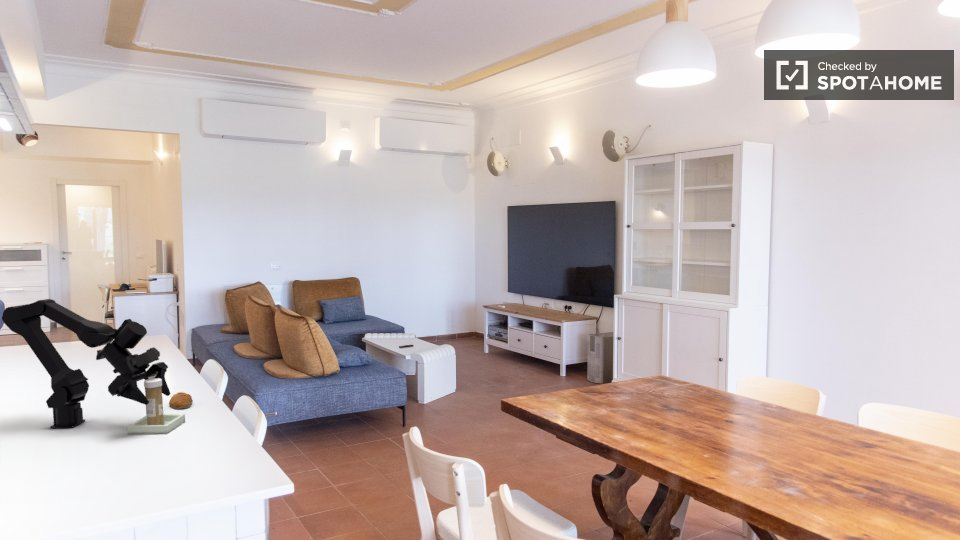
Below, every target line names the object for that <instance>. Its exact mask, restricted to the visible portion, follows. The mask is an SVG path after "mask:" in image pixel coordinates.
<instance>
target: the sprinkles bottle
mask: <svg viewBox="0 0 960 540" xmlns="http://www.w3.org/2000/svg"><path fill="white" fill-rule="evenodd" d="M143 386H144V393H145V394H144V395H145V397H146V398H147V399H148V401H149V403H148V404H147V405H145V416H147V425H164V418H163V415H164V404H163V403H164V401H163V400H164V399H163V393H162V388H161V387H162V379H160V378H153V379H148V380H145V379H144V381H143Z"/></svg>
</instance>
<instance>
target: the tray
mask: <svg viewBox="0 0 960 540" xmlns="http://www.w3.org/2000/svg"><path fill="white" fill-rule="evenodd" d="M163 418H164V425H147V416H146V415H145V416H143V417H141V418H140V419H137V420H135V422H133V423H131V424H129V425H128V426H127V427H126V433H127V435H168V434H169V433H171V432H172V431H174V430H175V429H176V428H178V427H179V426H181V425H183V424H184V423H185V422H186V414H181V413H180V414H179V413H178V414H163ZM182 423H183V424H182Z"/></svg>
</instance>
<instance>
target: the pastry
mask: <svg viewBox="0 0 960 540" xmlns="http://www.w3.org/2000/svg"><path fill="white" fill-rule="evenodd" d="M168 404H169V407H171V408H172V409H174V410H181V409H186V408H190V407H191V406H192V404H193V398H192V395H191V394H190V393H187V392H184V391H181V392H177V393H175V394H173V395H172V396H171V397H170V399H169V402H168ZM190 405H191V406H190Z"/></svg>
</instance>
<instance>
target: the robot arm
mask: <svg viewBox="0 0 960 540" xmlns="http://www.w3.org/2000/svg"><path fill="white" fill-rule="evenodd" d="M41 317H46V318H47V319H49V320H51V321H53V322H55V323H56V324H58V325H60V326H61V327H63V328H65V329H68V330H69V331H70V332H73V334H75V335H76V336H77V338H78V340H79V341H80V342H82V343H83V344H84V345H85V346H86V347H88V348H91V349H92V348H94V349H95V348H97V347H98V348H99V347H101V346H104V347H103V348H102V349H98V350H96V355H95V356H96V357H95V360H96V361H100V360H103V359H105V360H106V361H108V363H109V364H110V365H111V366H112V367H113V368H114V369H113V370H112V372H113V373H114V374H119V375H116V376H115V378H114V379H113V380H112V381H111V383H110V384H109V385H107V391H108V393H109V394H110V395H111V396H112V397H114V396H116V397H118V398H119V397H122V398H125V399H129V400H132V401H135V402H137V403H139V404H141V405H142V404H143V405H145V406H146V405H147V404H148V403H149V401H148V399H147V398H146V397H145V394H144V393H143V392H142V390H141V389H140V388H139V386H138V382H140V381H143V380H144V381H145V380H148V379H153V378H160V379H162V387H161V388H162V395H165V396H166V397H169V396H170V395H171V391H170V388H169V386H168V384H167V381H166V377H165V375H166V372H167V370H168V369H169V366H168V365H167V364H166V363H165V362H164V361H159V360H160V358H159V357H160V356H161V352H160V351H159V350H158V349H157V348H156V347H155V346H153V347H149V348H148V349H146V351H144V352H143V353H141V354H138V353H135V354H133V353H132V352H130V351H129V350H130V349H134V348H136V346H137V345H138V344H139V343H140V342H141V340H142V339H143V338H144V337H146V335H147V333H148V331H147V329H146V327H145V326H144V325H143V324H141V323H139V322H137V321H133V320H132V319H131V318H127V319H124V321H122V323H121V325H120V326H119V327H118V328H113V327H112V326H111V325H109V324H106V323H103V322H100V321H94V320H90V319H87V318H85V317H84V316H81V315H79V314H78V313H76V312H74V311H72V310H70V309H68V308H67V307H65V306H63V305H62V304H60V303H57V302H56V300H54V299H51V298H45V299H40V300H36V301H35V302H31V303H27V304H20V305H13V306H9V307H8V306H7V307H6V308H5V309H4V310H3V312H2V316H1V320H2V322H3V323H4V325H5V326H6V327H7V328H9V330H10V331H11V332H13V333H14V334H17V335H19V336H20V337H22V338H23V340H24V341H25V342H26V343H27V344H28V346H29V348H30V349H31V351H32V352H33V353H34V355H35V356H36V358H37V359H38V360H39V362H40V364H41V365H42V367H43V368H44V369H45V371H46V372H47V373H48V375H49V377H50V387H51V390H52V392H53V393H52V394H51V395H50V396H49V397H48V398H47V399H46V401H45V403H46V406H47V408H48V409H52V415H53V417H52V418H53V424H52V425H50V426H49V428H50V429H69V428H70V429H71V428H74V427H76V426H79V425H81V424H83V423H85V421H86V419H84V415H83V413H84V412H83V407H82V406H81V405H82V404H81V402H83V401H85V399H86V395H87V393H88V392H89V387H90V385H89V382H88V380H89V378H87V377H86V375H84V373H83V370H81V368H76V369H72V368H70V366H68V364H67V363H66V361H65V360H64V359H63V357H62V355H60V353H59V352H58V350H57V349H56V348H55V346H54V344H53V343H52V341H51V340H50V338H49V337H48V336H47V334H46V333H45V331H44V330H43V329H42V318H41ZM155 361H156V362H155ZM157 361H158V362H157ZM153 362H155V363H153ZM151 363H153V364H152V365H150V364H151Z"/></svg>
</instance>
